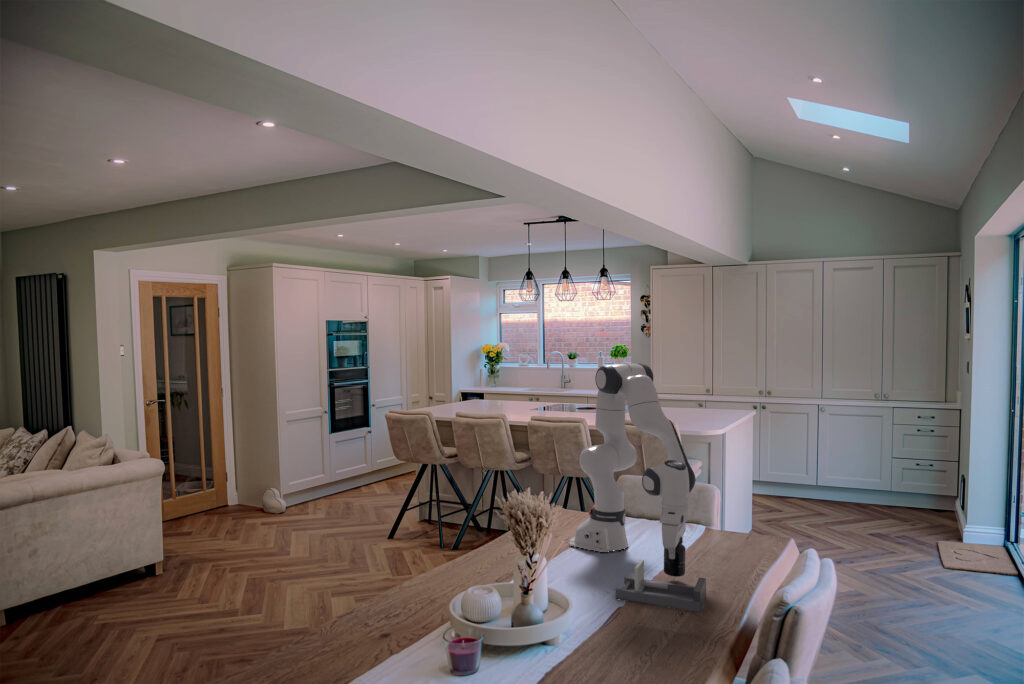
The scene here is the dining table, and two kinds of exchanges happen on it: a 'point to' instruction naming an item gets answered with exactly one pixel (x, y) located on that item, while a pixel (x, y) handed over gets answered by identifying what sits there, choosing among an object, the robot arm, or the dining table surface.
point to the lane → (666, 595)
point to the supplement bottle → (675, 561)
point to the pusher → (641, 582)
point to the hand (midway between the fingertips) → (674, 554)
